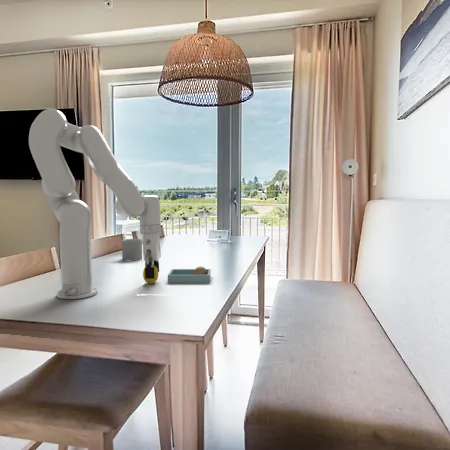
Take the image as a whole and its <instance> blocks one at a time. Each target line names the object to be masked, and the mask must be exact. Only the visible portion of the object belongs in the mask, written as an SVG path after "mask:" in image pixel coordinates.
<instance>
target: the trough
mask: <svg viewBox="0 0 450 450" xmlns="http://www.w3.org/2000/svg"><path fill="white" fill-rule="evenodd" d="M195 269H196V268H172V269H171V270H169V273H168V274H167V283H168V284H210V283H211V276H212V270H211V268H205V269H206V271H207V275H194V270H195Z"/></svg>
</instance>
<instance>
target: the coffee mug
mask: <svg viewBox="0 0 450 450" xmlns="http://www.w3.org/2000/svg"><path fill="white" fill-rule="evenodd" d="M121 257H122V259H124V260H137V261H141V260H142V259H143V238H142V239H141V238H125V239H122V240H121ZM140 259H141V260H140ZM124 260H123V261H124Z"/></svg>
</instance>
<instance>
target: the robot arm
mask: <svg viewBox="0 0 450 450" xmlns="http://www.w3.org/2000/svg"><path fill="white" fill-rule="evenodd" d="M28 147H29V150H30V153H31V155H32V158H33V160H34V163H35V165H36V168H37V170H38V173H39V175H40V177H41V187H42V191H43V193H44V195H45V197H46V199H47V201H48V204H49V205H50V208H51V210H52V211H53V214H54V216H55V217H56V219H57V221H58V222H59V252H60V256H59V257H60V274H61V275H60V277H61V278H60V280H61V290H59V291H57V292H56V297H57V298H59V299H62V300H77V299H80V300H81V299H85V298H91V297H93V296H94V295H97V293H98V288H97V287H94V286H93V266H92V265H93V264H92V263H93V261H92V221H93V220H92V219H93V218H92V212H91V209H90V207H89V206H88V204H87V203H85V202H84V201H82V200H81V199H80V198H79V196H78V193H77V191H76V184H77V183H76V180H75V177H74V176H73V173H72V171H71V170H70V169H71V168H70V167H69V166H68V163H67V161H66V159H65V156H64V154H63V151H62V148H61V147H63V148H65V149H69V150H71V151H74V152H76V153H81V154H82V155H84V157H85V159H86V160H87V163H88V164H89V166H90V167H91V169H92V171H93V173H94V175H95V176H96V177H97V178H98V179H99V180H100V181H101V182H102V183H104V184H105V185H106V186H107V187H108V188H109V189H110V190H111V191H112V193H113V194H114V196H115V197H116V199H117V200H116V202H115V205H114V206H115V210H116V212H117V213H118V214H119V215H120V216H122V217H125V218H127V217H128V218H131V219H132V218H138V217H139V218H138V219H139V233H140V235H142V258H143V261H144V268H145V278H146V279H154V278H155V275H154V267H153V265H155V266H156V267H157V269H158V273H160V262H159V260H160V259H161V257H162V250H161V248H162V247H161V238H160V234H161V233H162V225H161V223H162V221H161V200H160V197H159V196H158V195H152V194H151V195H141V193H140V191H139V190H138V188H137V186H136V185H135V183H134V182H133V180H132V178H131V177H130V176H129V175H128V174H127V172H126V171H125V170H124V169H123V167H122V166H121V164H119V162H118V160H117V159H116V157H115V155H114V153H113V151H112V150H111V148H110V146H109V144H108V142H107V141H106V139H105V137H104V136H103V134H102V132H101V130H100V129H98V127H96V126H94V125H83V126H78V125H74V124H72V123H69V122H68V120H67V118H66V116H65V114H64V113H63V112H62V111H60V110H59V109H55V108H47V109H45V110H43V111H41V112H40V113H39V114H38V115H37V116H36V117H35V119H34V121H33V122H32V123H31V126H30V128H29V134H28Z"/></svg>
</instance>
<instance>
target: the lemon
mask: <svg viewBox="0 0 450 450" xmlns="http://www.w3.org/2000/svg"><path fill="white" fill-rule="evenodd" d="M153 267H154V275H155V278H154V279H146V278H145V267H144V268H143V271H142V276H143V277H142V278H143V280H144V282H146V283H147V284H149V285H153V284H154V283H156V282H157V280H158V279H159V272H158V269H157V267H156V266H155V265H153Z"/></svg>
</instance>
